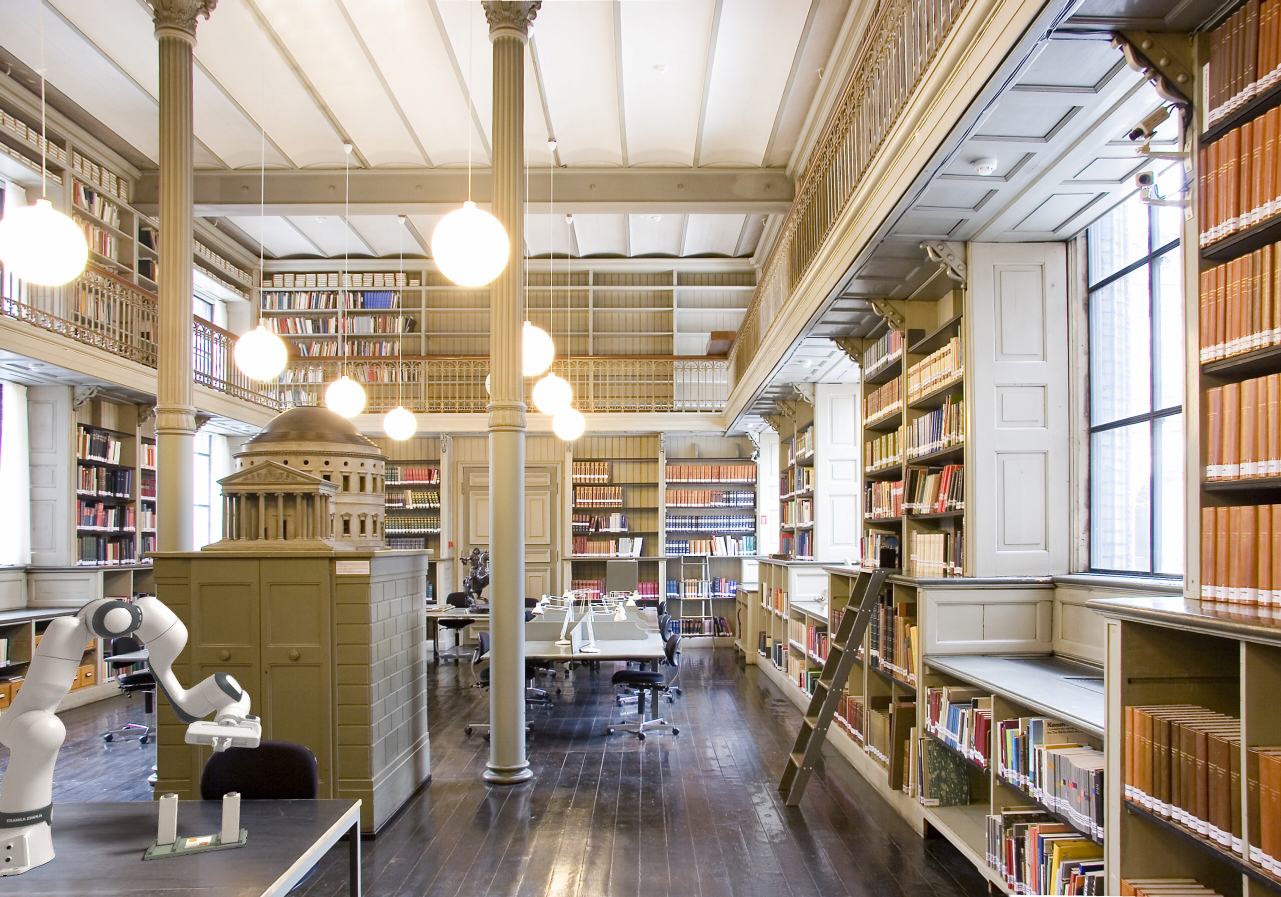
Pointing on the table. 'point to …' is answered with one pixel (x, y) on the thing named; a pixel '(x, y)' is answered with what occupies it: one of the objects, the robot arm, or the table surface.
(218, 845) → the switch unit
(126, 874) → the table surface
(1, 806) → the robot arm
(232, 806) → the right switch
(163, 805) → the left switch
